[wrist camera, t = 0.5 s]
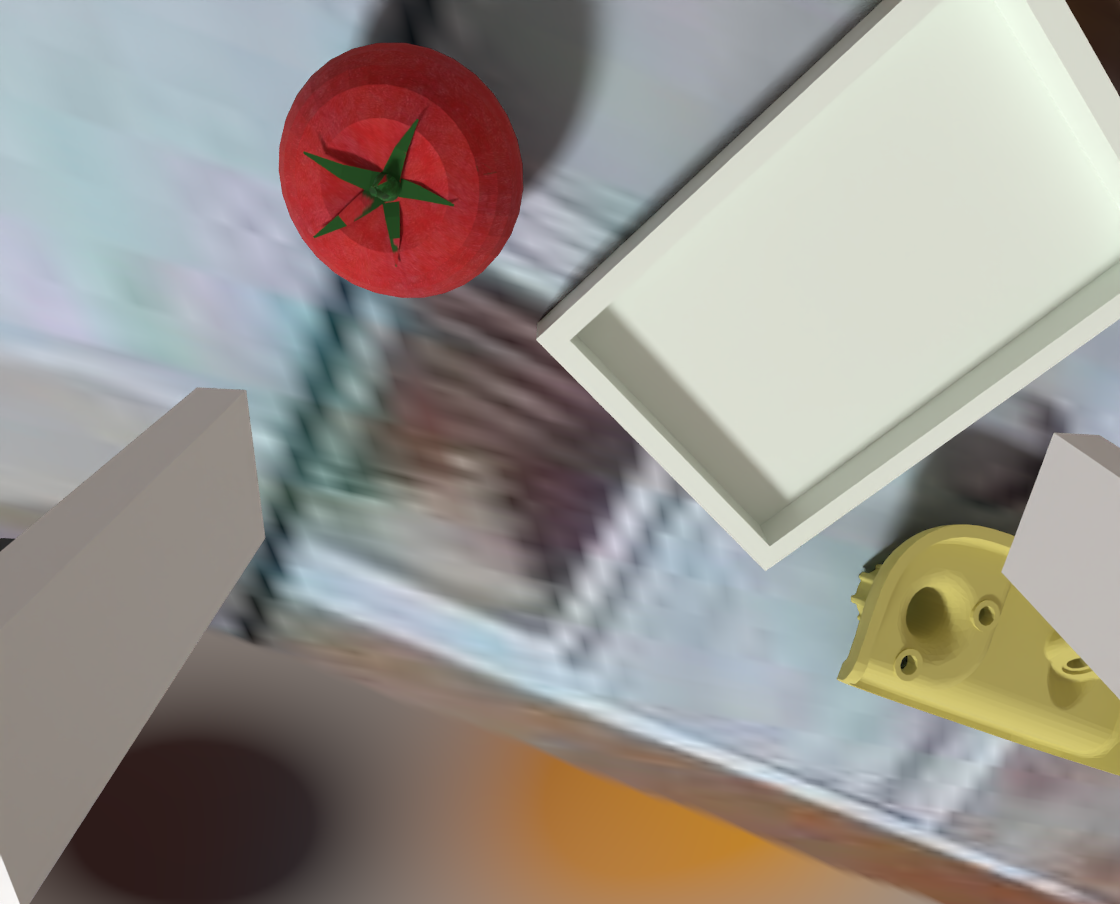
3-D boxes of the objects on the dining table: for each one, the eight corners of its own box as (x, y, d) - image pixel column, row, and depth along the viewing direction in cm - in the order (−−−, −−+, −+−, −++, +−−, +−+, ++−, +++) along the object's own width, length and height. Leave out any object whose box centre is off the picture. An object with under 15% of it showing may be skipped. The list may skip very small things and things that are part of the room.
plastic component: (1219, 624, 38) (1156, 811, 38) (1085, 590, 45) (1031, 747, 45) (915, 492, 33) (839, 705, 33) (818, 477, 40) (754, 653, 40)
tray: (537, 323, 34) (536, 339, 32) (971, -83, 27) (1009, -100, 25) (753, 543, 39) (765, 571, 37) (1163, 243, 32) (1208, 255, 30)
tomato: (339, 286, 33) (278, 339, 26) (288, 61, 29) (199, 50, 22) (538, 265, 33) (532, 313, 25) (512, 35, 29) (496, 14, 22)
